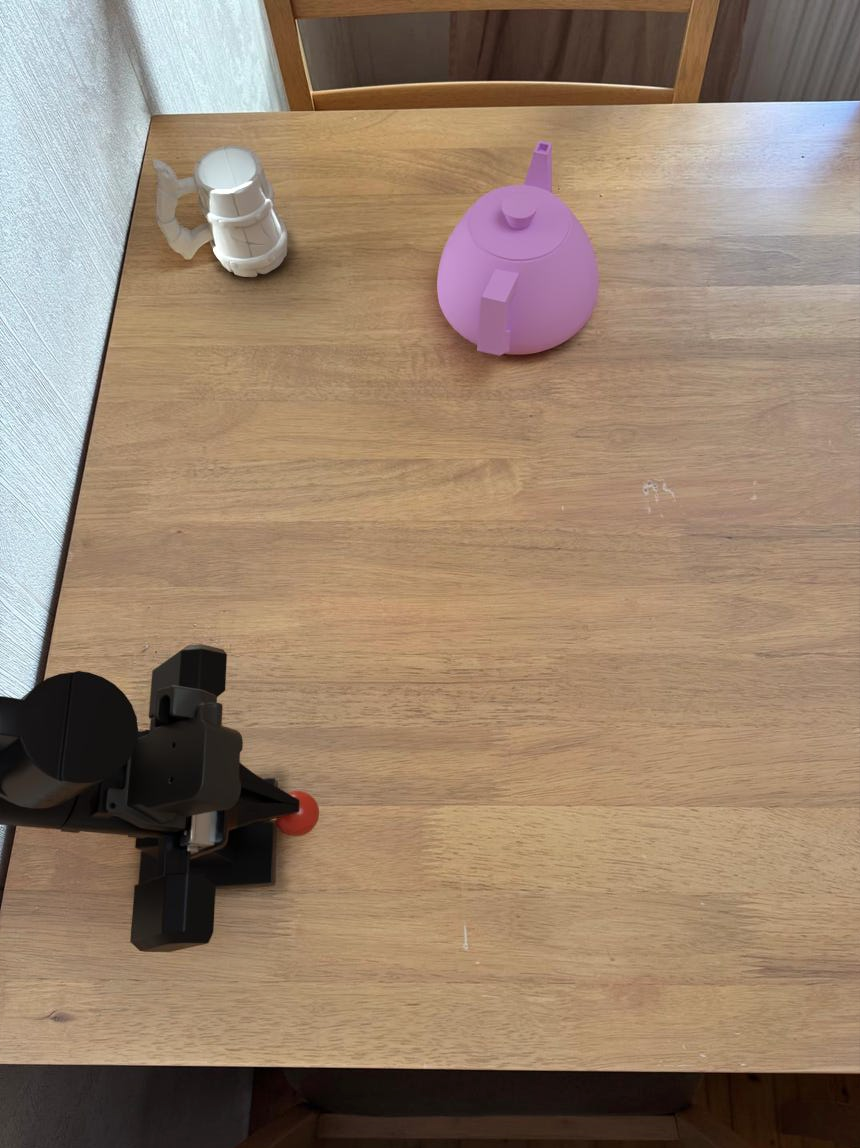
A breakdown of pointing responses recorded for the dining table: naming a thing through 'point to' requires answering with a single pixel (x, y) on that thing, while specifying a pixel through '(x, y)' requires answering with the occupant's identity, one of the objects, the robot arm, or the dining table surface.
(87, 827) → the robot arm
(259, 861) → the switch bracket
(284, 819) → the lever
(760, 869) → the dining table surface
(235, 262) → the mug
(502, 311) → the teapot
